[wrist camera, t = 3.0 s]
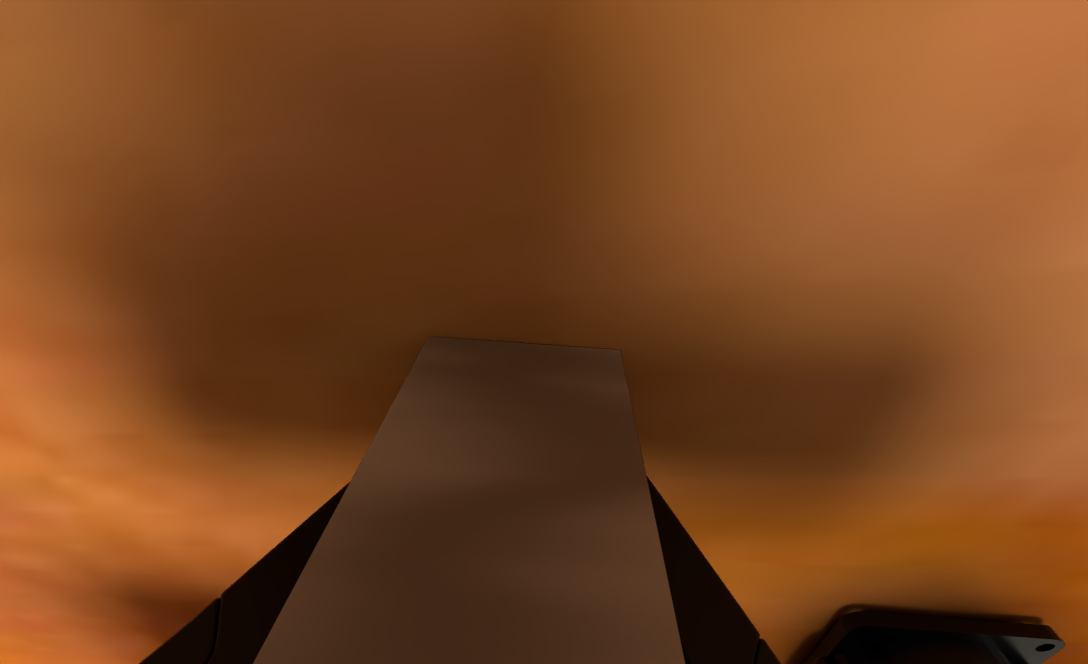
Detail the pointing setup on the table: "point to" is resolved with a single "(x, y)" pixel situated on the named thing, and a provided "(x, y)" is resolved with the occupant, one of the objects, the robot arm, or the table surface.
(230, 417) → the table surface
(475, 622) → the grey mallet
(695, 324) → the table surface
